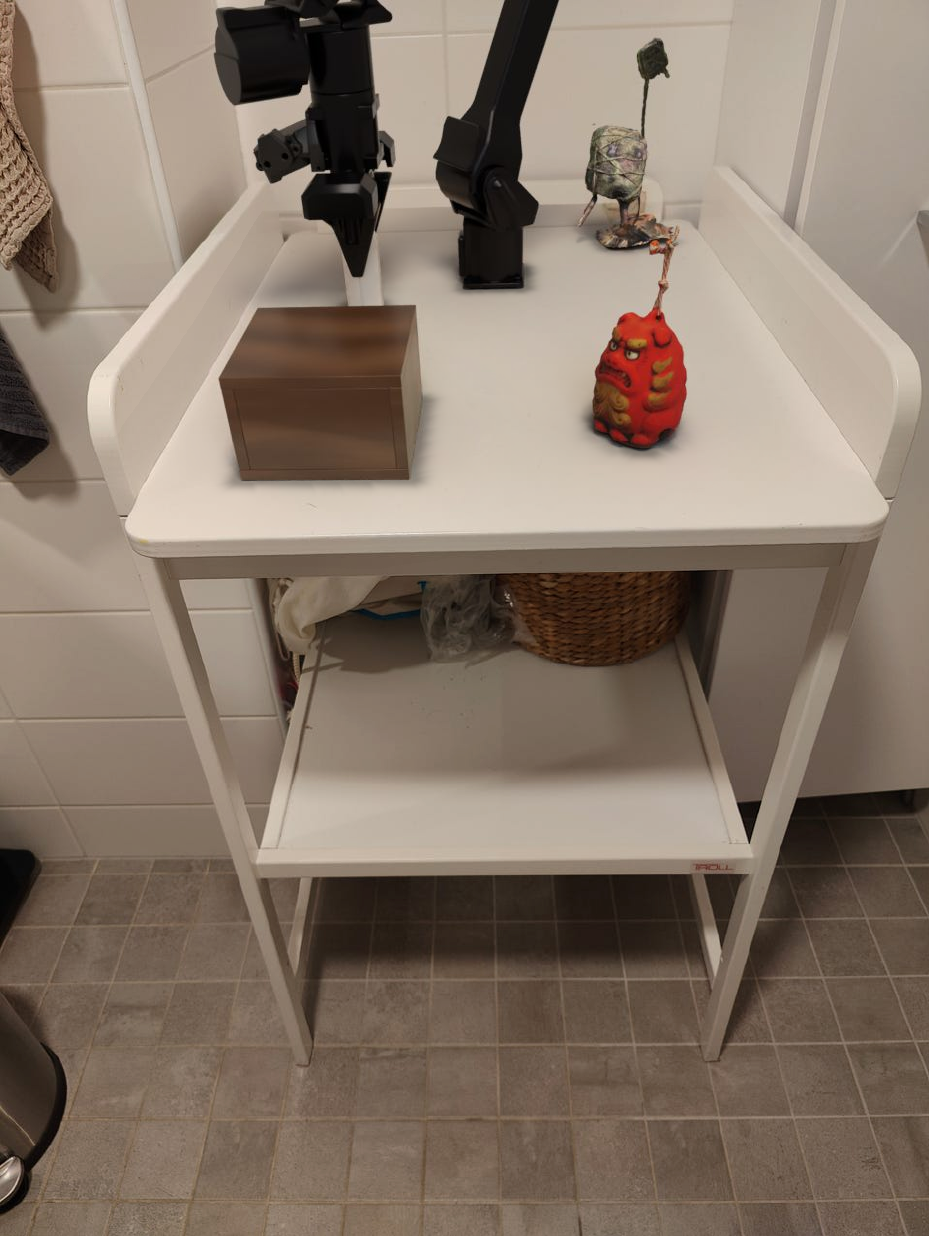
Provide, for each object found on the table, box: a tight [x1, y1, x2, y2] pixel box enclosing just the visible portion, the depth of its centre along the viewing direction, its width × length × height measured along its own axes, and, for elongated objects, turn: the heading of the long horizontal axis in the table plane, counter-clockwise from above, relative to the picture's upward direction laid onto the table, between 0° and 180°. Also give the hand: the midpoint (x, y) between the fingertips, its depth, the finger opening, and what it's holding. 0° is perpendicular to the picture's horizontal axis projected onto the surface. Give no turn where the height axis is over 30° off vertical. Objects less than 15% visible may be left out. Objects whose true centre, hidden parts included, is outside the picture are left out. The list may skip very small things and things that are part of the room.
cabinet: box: [217, 304, 423, 481], centre depth 71 cm, size 13×13×8 cm
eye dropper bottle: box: [340, 230, 385, 306], centre depth 90 cm, size 4×6×12 cm
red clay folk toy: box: [591, 224, 688, 449], centre depth 68 cm, size 8×7×15 cm
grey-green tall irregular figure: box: [577, 36, 675, 249], centre depth 101 cm, size 8×11×20 cm
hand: (361, 265), depth 91 cm, fingers closed on eye dropper bottle, 5 cm apart
